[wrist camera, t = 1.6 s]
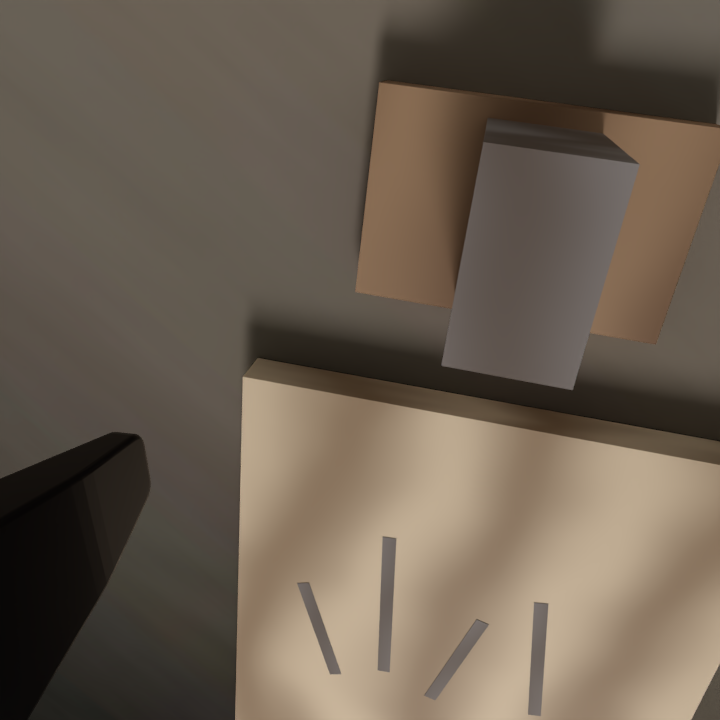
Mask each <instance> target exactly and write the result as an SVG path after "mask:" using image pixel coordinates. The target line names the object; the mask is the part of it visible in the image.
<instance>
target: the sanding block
mask: <svg viewBox="0 0 720 720" xmlns="http://www.w3.org/2000/svg"><path fill="white" fill-rule="evenodd" d="M719 163H720V125H717V124H711V123H704V122H696V121H689V120H681V119H674V118H666V117H659V116H651V115H644V114H636V113H629V112H621V111H614V110H606V109H599V108H591V107H584V106H576V105H569V104H561V103H554V102H546V101H539V100H531V99H524V98H516V97H509V96H501V95H494V94H486V93H479V92H471V91H464V90H456V89H449V88H441V87H434V86H426V85H419V84H411V83H404V82H396V81H389V80H386V81H382V82H379V90H378V98H377V107H376V116H375V125H374V133H373V142H372V151H371V159H370V168H369V177H368V186H367V194H366V203H365V212H364V221H363V229H362V238H361V247H360V255H359V264H358V273H357V282H356V290H355V292H359V293H364V294H370V295H376V296H381V297H387V298H393V299H399V300H404V301H410V302H416V303H421V304H427V305H433V306H439V307H444V308H450V309H452V310H451V316H450V321H449V327H448V332H447V337H446V343H445V348H444V354H443V359H442V364H441V366H445V367H451V368H456V369H461V370H467V371H472V372H477V373H483V374H488V375H494V376H499V377H504V378H510V379H515V380H520V381H526V382H531V383H536V384H542V385H547V386H553V387H558V388H563V389H569V390H573V387H574V384H575V381H576V377H577V374H578V371H579V367H580V364H581V361H582V357H583V354H584V350H585V347H586V344H587V340H588V337H589V334H590V333H593V334H599V335H604V336H610V337H616V338H621V339H627V340H633V341H638V342H644V343H650V344H656V343H657V340H658V337H659V334H660V331H661V328H662V326H663V323H664V320H665V317H666V314H667V311H668V308H669V306H670V303H671V300H672V297H673V294H674V291H675V289H676V286H677V283H678V280H679V277H680V274H681V271H682V269H683V266H684V263H685V260H686V257H687V254H688V252H689V249H690V246H691V243H692V240H693V237H694V234H695V232H696V229H697V226H698V223H699V220H700V217H701V214H702V212H703V209H704V206H705V203H706V200H707V197H708V195H709V192H710V189H711V186H712V183H713V180H714V177H715V175H716V172H717V169H718V166H719Z"/></svg>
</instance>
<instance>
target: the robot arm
mask: <svg viewBox="0 0 720 720" xmlns="http://www.w3.org/2000/svg"><path fill="white" fill-rule="evenodd" d="M150 487H151V481H150V474H149V468H148V463H147V457H146V451H145V445H144V442H143V440H142V438H141V437H140V436H139V435H137V434H130V433H120V432H112V433H109V434H106V435H104V436H102V437H99V438H97V439H94V440H92V441H90V442H87V443H85V444H82V445H80V446H78V447H75V448H73V449H70V450H68V451H66V452H63V453H61V454H58V455H56V456H54V457H51V458H49V459H46V460H44V461H42V462H39V463H37V464H34V465H32V466H29V467H27V468H25V469H22V470H20V471H17V472H15V473H13V474H10V475H8V476H5V477H3V478H1V479H0V720H28V718H29V716H30V715H31V713H32V711H33V710H34V708H35V706H36V705H37V703H38V701H39V700H40V698H41V696H42V695H43V693H44V691H45V689H46V688H47V686H48V684H49V683H50V681H51V679H52V678H53V676H54V674H55V673H56V671H57V669H58V668H59V666H60V664H61V663H62V661H63V659H64V657H65V656H66V654H67V652H68V651H69V649H70V647H71V646H72V644H73V642H74V641H75V639H76V637H77V636H78V634H79V632H80V631H81V629H82V627H83V626H84V624H85V622H86V620H87V619H88V617H89V615H90V614H91V612H92V610H93V609H94V607H95V605H96V604H97V602H98V600H99V599H100V597H101V595H102V593H103V591H104V590H105V588H106V586H107V584H108V582H109V580H110V578H111V576H112V574H113V572H114V570H115V568H116V566H117V564H118V562H119V559H120V557H121V555H122V553H123V551H124V549H125V546H126V544H127V542H128V540H129V538H130V535H131V533H132V531H133V529H134V527H135V525H136V522H137V520H138V518H139V516H140V514H141V511H142V509H143V507H144V505H145V503H146V501H147V498H148V496H149V492H150Z"/></svg>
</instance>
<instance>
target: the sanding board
mask: <svg viewBox="0 0 720 720" xmlns="http://www.w3.org/2000/svg"><path fill="white" fill-rule="evenodd" d="M719 664H720V441H714V440H709V439H703V438H698V437H692V436H687V435H681V434H676V433H670V432H665V431H659V430H654V429H648V428H642V427H637V426H631V425H626V424H620V423H615V422H609V421H604V420H598V419H593V418H587V417H582V416H576V415H571V414H565V413H560V412H554V411H549V410H543V409H537V408H532V407H526V406H521V405H515V404H510V403H504V402H499V401H493V400H488V399H482V398H477V397H471V396H466V395H460V394H455V393H449V392H443V391H438V390H432V389H427V388H421V387H416V386H410V385H405V384H399V383H394V382H388V381H383V380H377V379H372V378H366V377H361V376H355V375H350V374H344V373H338V372H333V371H327V370H322V369H316V368H311V367H305V366H300V365H294V364H289V363H283V362H278V361H272V360H267V359H261V358H257V359H256V361H255V362H254V363H253V364H252V366H251V367H250V368H249V370H248V371H247V372H246V373H245V375H244V376H243V395H242V440H241V484H240V529H239V574H238V619H237V664H236V708H235V720H691V719H692V717H693V715H694V713H695V711H696V709H697V707H698V705H699V703H700V701H701V699H702V697H703V695H704V693H705V691H706V689H707V688H708V686H709V684H710V682H711V680H712V678H713V676H714V674H715V672H716V670H717V668H718V666H719Z"/></svg>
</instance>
